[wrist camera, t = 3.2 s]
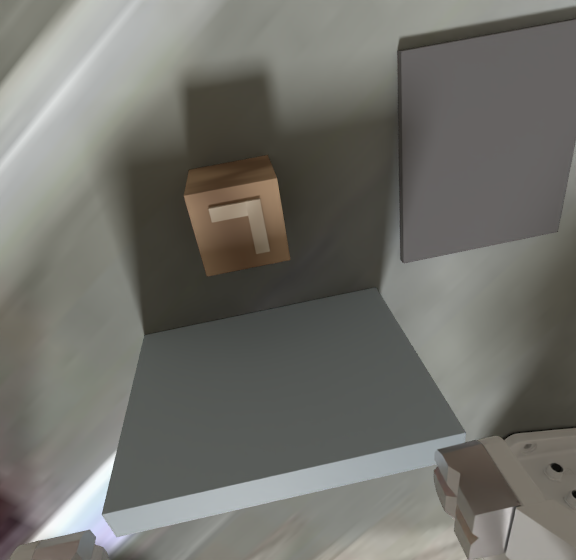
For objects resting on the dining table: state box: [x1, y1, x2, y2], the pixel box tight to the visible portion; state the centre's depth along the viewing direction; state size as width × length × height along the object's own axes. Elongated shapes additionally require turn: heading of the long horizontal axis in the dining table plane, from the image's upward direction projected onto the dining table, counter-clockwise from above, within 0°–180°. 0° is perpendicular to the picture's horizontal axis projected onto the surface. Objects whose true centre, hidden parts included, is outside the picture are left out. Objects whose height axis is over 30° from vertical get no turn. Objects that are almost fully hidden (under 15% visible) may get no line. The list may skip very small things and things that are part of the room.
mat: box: [397, 19, 576, 263], centre depth 29 cm, size 12×14×1 cm
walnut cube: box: [184, 155, 290, 276], centre depth 26 cm, size 5×5×5 cm
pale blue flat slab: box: [102, 287, 466, 537], centre depth 29 cm, size 18×7×14 cm, turn 99°
